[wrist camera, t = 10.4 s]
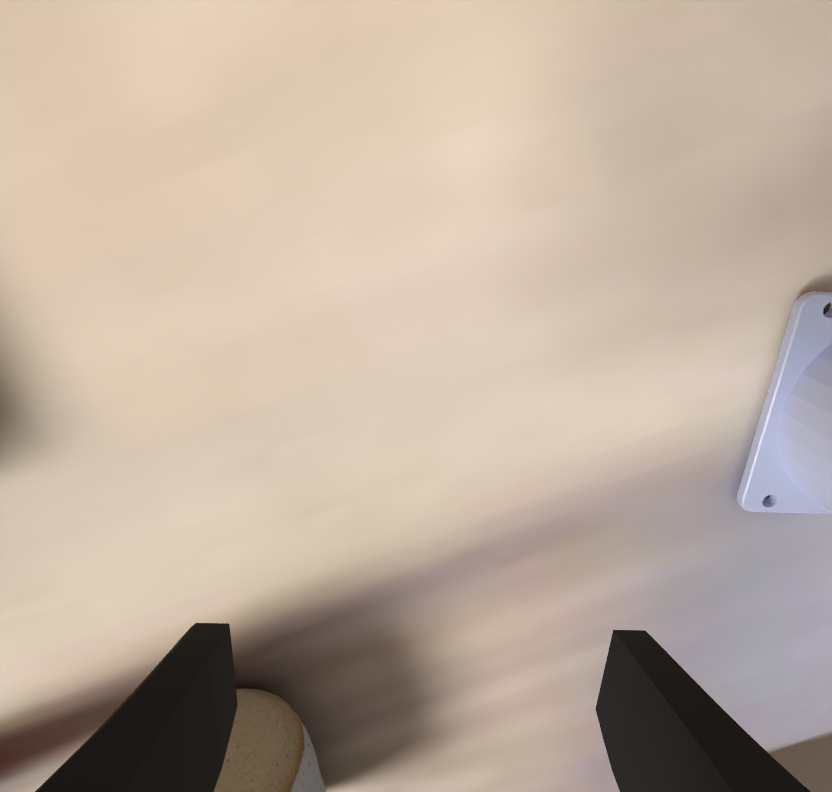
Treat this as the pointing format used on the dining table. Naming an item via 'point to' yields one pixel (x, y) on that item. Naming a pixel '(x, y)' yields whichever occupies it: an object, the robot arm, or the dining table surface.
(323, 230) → the dining table surface
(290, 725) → the ceramic mug
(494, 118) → the dining table surface
